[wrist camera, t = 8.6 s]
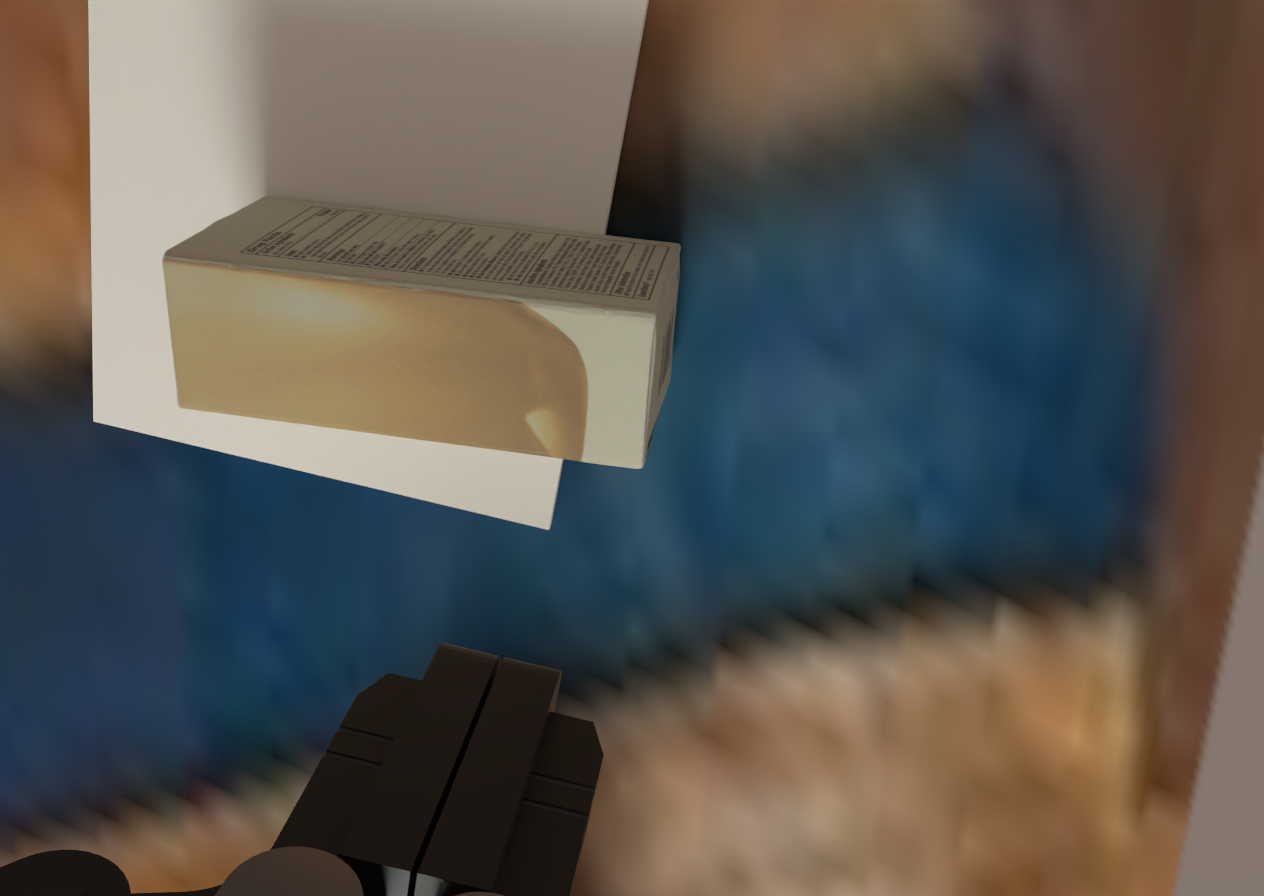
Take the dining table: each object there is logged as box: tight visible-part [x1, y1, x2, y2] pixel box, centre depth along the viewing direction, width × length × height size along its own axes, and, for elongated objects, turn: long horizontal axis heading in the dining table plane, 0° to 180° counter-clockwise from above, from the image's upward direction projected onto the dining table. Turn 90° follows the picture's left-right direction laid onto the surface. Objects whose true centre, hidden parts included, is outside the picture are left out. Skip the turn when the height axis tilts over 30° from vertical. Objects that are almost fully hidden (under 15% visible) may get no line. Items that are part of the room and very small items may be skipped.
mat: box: [88, 0, 649, 530], centre depth 34 cm, size 15×20×1 cm
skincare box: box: [162, 196, 681, 469], centre depth 32 cm, size 6×4×12 cm
